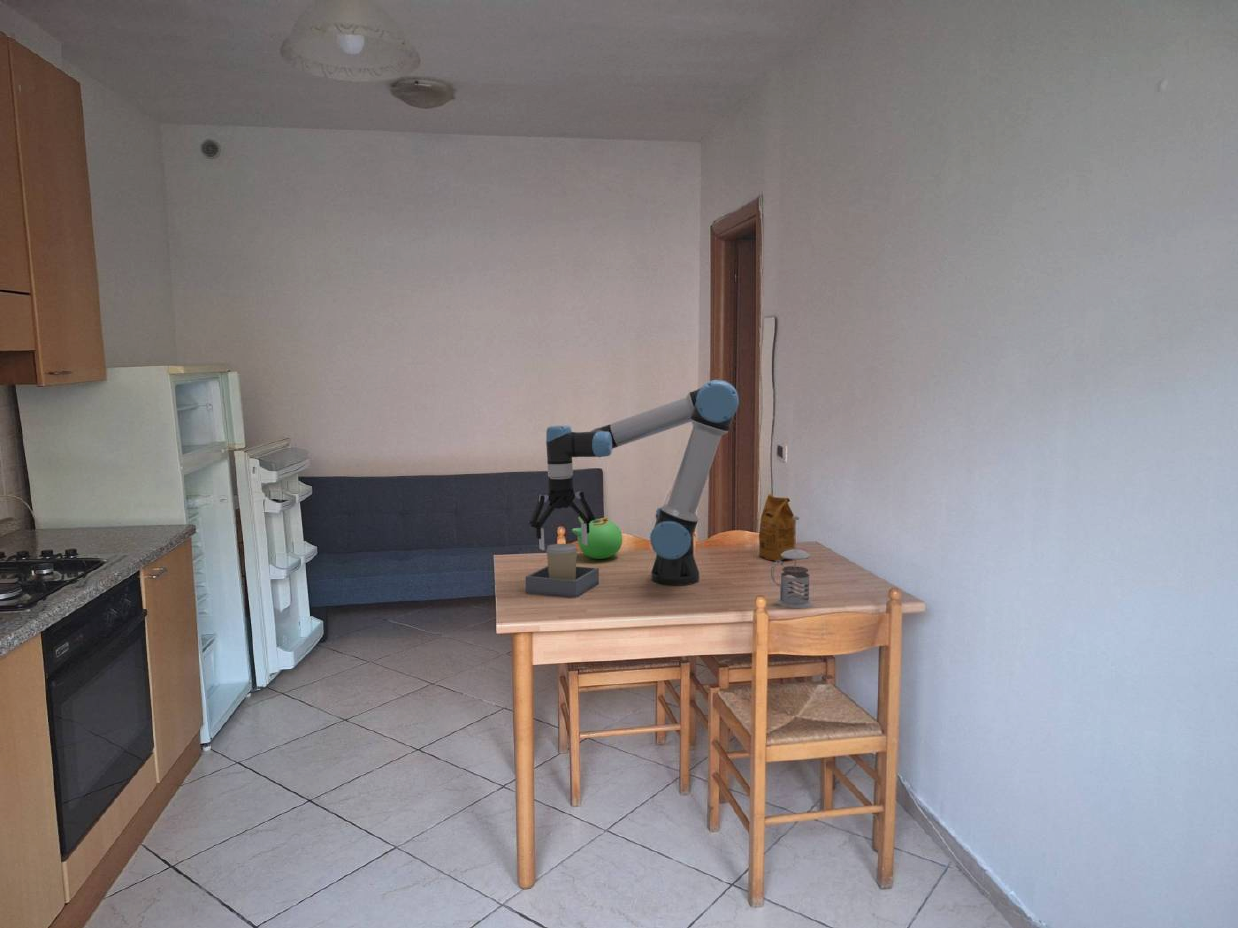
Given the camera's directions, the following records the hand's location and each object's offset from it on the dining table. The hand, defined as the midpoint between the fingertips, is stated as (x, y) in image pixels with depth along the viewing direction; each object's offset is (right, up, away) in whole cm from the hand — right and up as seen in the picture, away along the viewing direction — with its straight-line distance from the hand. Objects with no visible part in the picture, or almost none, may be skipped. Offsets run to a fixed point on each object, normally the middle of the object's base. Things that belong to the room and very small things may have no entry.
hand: (563, 546), depth 244 cm
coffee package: (+72, -8, +38) cm, 82 cm away
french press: (+65, -14, -18) cm, 69 cm away
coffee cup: (0, -12, +1) cm, 12 cm away
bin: (0, -13, +2) cm, 13 cm away
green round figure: (+10, -8, +42) cm, 43 cm away
